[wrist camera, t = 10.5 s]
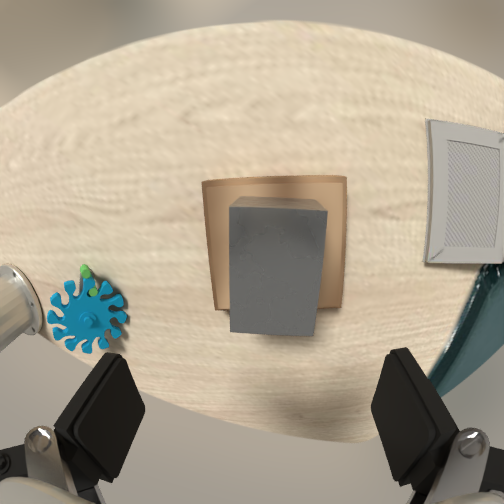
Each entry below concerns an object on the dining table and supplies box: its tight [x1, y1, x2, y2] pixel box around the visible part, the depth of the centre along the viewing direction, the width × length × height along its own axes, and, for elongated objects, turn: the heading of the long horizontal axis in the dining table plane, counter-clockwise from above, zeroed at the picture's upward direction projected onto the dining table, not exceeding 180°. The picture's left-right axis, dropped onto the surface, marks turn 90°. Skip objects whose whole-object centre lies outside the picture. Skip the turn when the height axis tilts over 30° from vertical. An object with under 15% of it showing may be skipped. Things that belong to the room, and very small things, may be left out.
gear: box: [47, 264, 127, 354], centre depth 28 cm, size 11×6×10 cm
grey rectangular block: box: [229, 196, 328, 336], centre depth 21 cm, size 9×6×6 cm, turn 179°
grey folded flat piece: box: [423, 119, 504, 263], centre depth 21 cm, size 23×15×4 cm, turn 94°
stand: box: [202, 175, 347, 310], centre depth 25 cm, size 12×12×3 cm
